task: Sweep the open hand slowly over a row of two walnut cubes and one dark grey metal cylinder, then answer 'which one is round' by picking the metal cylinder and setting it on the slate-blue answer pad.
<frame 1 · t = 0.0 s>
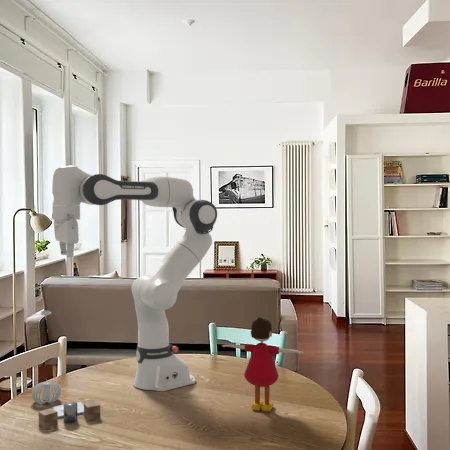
hand: (66, 255, 178), 48 cm above the table, tool pointing down, fingers open, 8 cm apart
walnut cube a: (92, 416, 163), on the table
answer pad: (69, 410, 168), on the table
pendant light: (46, 402, 176), on the table
toy: (261, 410, 169), on the table
walnut cube b: (48, 425, 157), on the table
metal cylinder: (70, 420, 160), on the table
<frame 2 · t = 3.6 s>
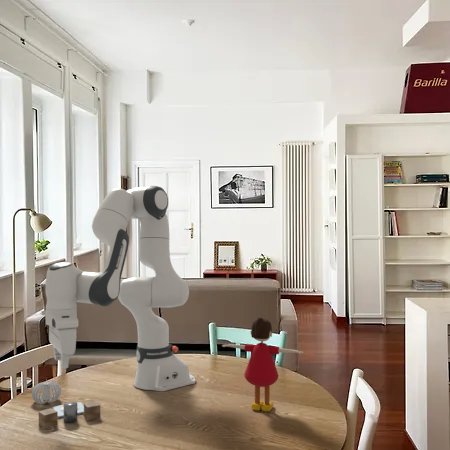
hand: (61, 363, 158), 18 cm above the table, tool pointing down, fingers open, 8 cm apart
nothing on the table moved.
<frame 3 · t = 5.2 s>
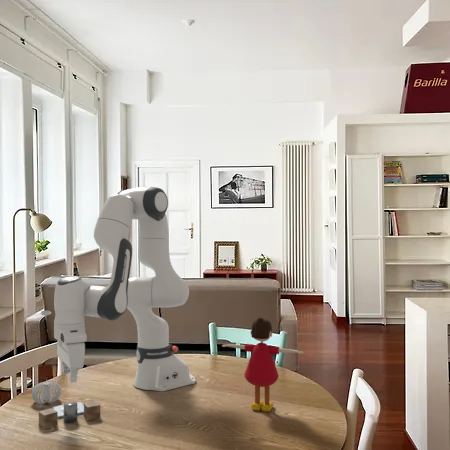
hand: (69, 377, 160), 13 cm above the table, tool pointing down, fingers open, 8 cm apart
nothing on the table moved.
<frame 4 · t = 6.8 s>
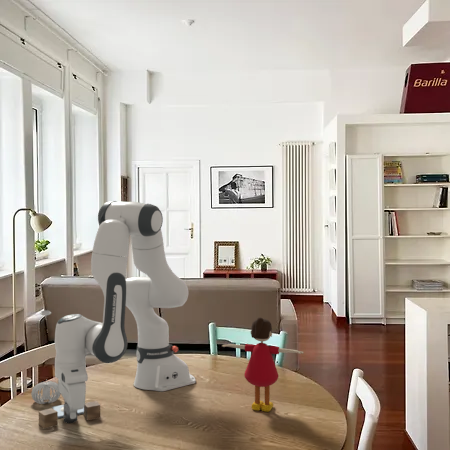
hand: (70, 414, 160), 2 cm above the table, tool pointing down, fingers closed on metal cylinder, 4 cm apart
metal cylinder: (70, 420, 160), on the table, touching gripper
everything else where it was.
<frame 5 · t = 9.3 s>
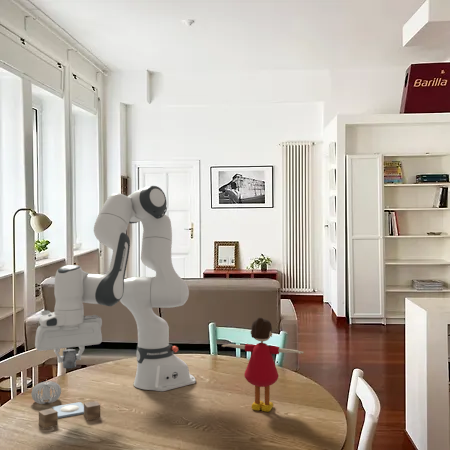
hand: (69, 361, 167), 16 cm above the table, tool pointing down, fingers closed on metal cylinder, 4 cm apart
metal cylinder: (69, 366, 167), point 14 cm above the table, touching gripper
everything else where it was.
when the fingers open (3 cm above the table, at t = 11.8 s): metal cylinder stays where it is, resting on answer pad.
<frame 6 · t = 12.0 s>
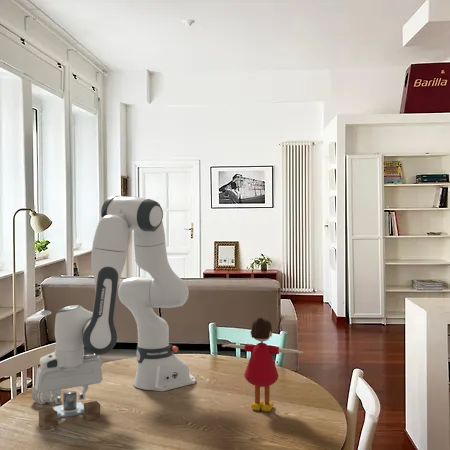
hand: (69, 401, 168), 3 cm above the table, tool pointing down, fingers open, 6 cm apart
metal cylinder: (70, 408, 168), point 1 cm above the table, touching answer pad
everything else where it was.
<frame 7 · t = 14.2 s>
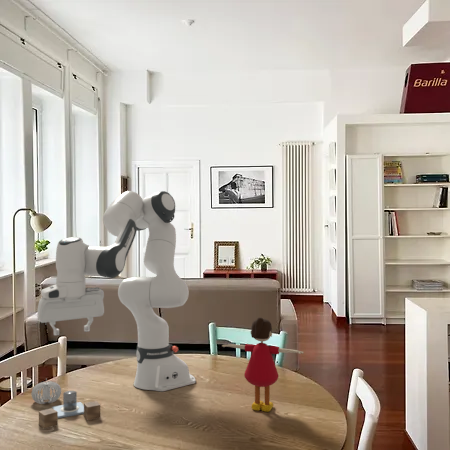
hand: (71, 333, 168), 25 cm above the table, tool pointing down, fingers open, 8 cm apart
nothing on the table moved.
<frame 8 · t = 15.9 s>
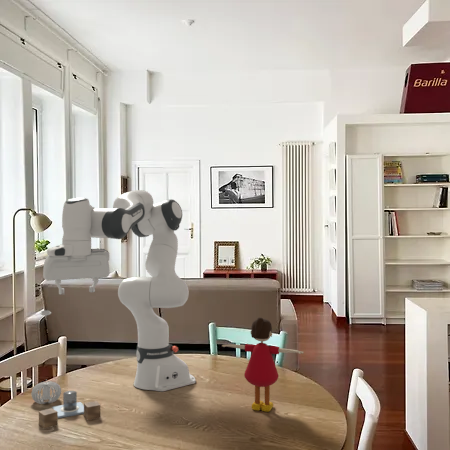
hand: (77, 293, 168), 37 cm above the table, tool pointing down, fingers open, 8 cm apart
nothing on the table moved.
at the end: metal cylinder inside the target area on the answer pad (0.1 cm from its centre), point 0.7 cm above the answer pad's base; metal cylinder tilted 0°; the gripper is holding nothing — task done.
